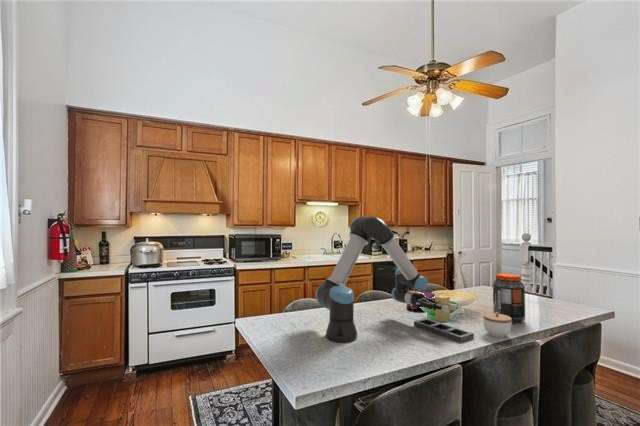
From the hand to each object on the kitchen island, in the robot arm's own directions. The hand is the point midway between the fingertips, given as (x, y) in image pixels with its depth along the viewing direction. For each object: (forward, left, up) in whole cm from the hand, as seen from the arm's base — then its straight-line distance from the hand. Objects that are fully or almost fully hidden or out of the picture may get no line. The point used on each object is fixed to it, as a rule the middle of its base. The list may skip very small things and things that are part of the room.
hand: (451, 308), depth 158 cm
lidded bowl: (+20, -12, -13) cm, 26 cm away
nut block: (0, +5, -7) cm, 9 cm away
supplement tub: (+50, -2, -13) cm, 51 cm away
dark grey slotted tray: (0, +5, -13) cm, 14 cm away
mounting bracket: (+27, +42, -14) cm, 52 cm away
